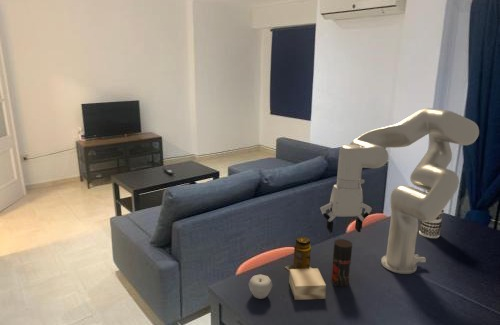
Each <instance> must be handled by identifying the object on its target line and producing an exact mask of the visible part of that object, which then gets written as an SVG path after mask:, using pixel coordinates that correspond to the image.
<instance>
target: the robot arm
mask: <svg viewBox="0 0 500 325" xmlns="http://www.w3.org/2000/svg"><path fill="white" fill-rule="evenodd" d="M427 135H428V139H429V140H428V141H429V142H428V144H429V145H428V149H427V151H426V153H425V154H424V156H423V157H422V158H421V160H420V161H419V163H418V164H417V165H416V167H414V169H413V171H412V172H411V174H410V176H409V178H410V182H411V184H412V185H413V186H415V187H416V188H414V187H412V186H409V185H398V186H396V187H395V188H394V189H392V191H391V194H390V198H389V199H390V200H389V201H390V202H389V203H390V221H389V222H390V223H389V230H388V239H387V246H386V254H385V255H383V256H382V257H381V260H380V261H381V265H382V266H383V267H384V268H386V270H389V271H390V272H393V273H395V274H401V275H409V274H413V273H415V272H416V271H417V268H418V266H417V264H418V263H426V262H427V259H426V257H424V256H420V255H419V254H415V251H416V244H417V237H418V236H417V235H418V232H419V221H424V222H431V221H433V220H435V219H436V218H437V217H438V216H439V214H440V213H441V212H442V210H444V209H445V208H446V207H447V205H448V204H449V202H450V201H451V199H452V198H453V197H454V195H455V193H456V192H457V190H458V187H459V184H460V179H459V178H460V177H459V176H458V174H457V172H455V171H453V170H451V169H449V168H448V166H449V165H450V163H451V162H452V159H453V152H452V149H451V145H450V144H456V145H461V146H469V145H473V144H475V142H476V140H477V139H478V137H479V136H480V129H479V126H478V124H477V123H476V122H475V121H473V120H471V119H469V118H467V117H465V116H462V115H461V114H459V113H457V112H454V111H452V110H447V109H441V108H431V107H425V108H421V109H419V110H417V111H416V112H414V113H412V114H410V115H409V116H407V117H406V118H404V119H401V120H400V121H399V122H397V123H395V124H391V125H387V126H385V127H380V128H375V129H373V130H369V131H367V132H364V133H363V134H361V135H360V136H358V137H357V138H355V139H353V140H352V141H351V142H350V143H349V144H343V145H341V146H340V148H339V151H338V162H337V172H336V173H337V174H336V175H337V176H336V184H334V185H332V190H331V194H330V200H329V203H327V204H324V205H322V206H321V207H319V210H320V211H321V214H322V215H323V217H324V218H325V219H326V229H327V230H328V232H329V233H333V230H334V221H333V220H335V218H336V217H356V218H355V225H354V226H355V228H354V229H355V230H356V231H357V232H358V233H361V231H362V229H363V222H365V219H366V218H367V217H368V216H369V215H370V213H371V211H372V210H373V209H372V207H371V205H370V206H369V205H368V204H365V203H364V195H363V188H362V184H365V182H366V181H365V179H363V178H362V171H363V168H364V169H366V168H367V169H368V168H369V169H379V168H381V167H383V166H384V165H386V164H387V162H388V160H389V153H388V151H387V149H389V148H392V149H393V148H395V149H396V148H405V147H409V146H411V145H412V144H414V143H415V142H417V141H419V140H420V139H422V138H424V137H425V136H427ZM386 148H387V149H386ZM417 188H419V189H417ZM420 189H422V190H420ZM426 191H429V193H425V192H426ZM363 209H365V210H364V211H363ZM327 210H329V212H328V213H327Z"/></svg>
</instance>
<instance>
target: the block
mask: <svg viewBox="0 0 500 325" xmlns="http://www.w3.org/2000/svg"><path fill="white" fill-rule="evenodd" d="M311 268H312V267H311ZM288 280H289V281H288V283H289V285H290V288H291V292H292V295H293V299H294V300H295V301H296V300H297V301H298V300H300V301H302V300H321V299H324V300H325V299H326V291H327V284H326V282H325V280H324V278H323V276H322V274H321V272H320V270H319V268H318V267H316V268H312V269H290V271H289V278H288Z"/></svg>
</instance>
